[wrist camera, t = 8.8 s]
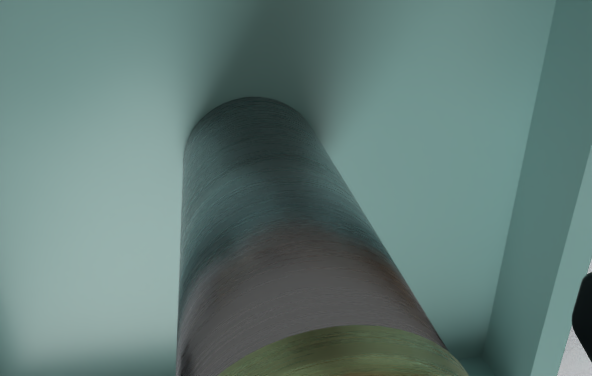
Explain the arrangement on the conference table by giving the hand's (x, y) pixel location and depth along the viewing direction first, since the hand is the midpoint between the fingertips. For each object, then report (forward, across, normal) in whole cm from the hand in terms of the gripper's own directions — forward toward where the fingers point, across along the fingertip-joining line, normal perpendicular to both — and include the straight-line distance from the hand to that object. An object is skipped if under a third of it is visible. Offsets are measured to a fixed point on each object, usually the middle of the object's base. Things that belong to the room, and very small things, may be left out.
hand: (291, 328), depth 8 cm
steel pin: (+6, 0, 0) cm, 6 cm away
